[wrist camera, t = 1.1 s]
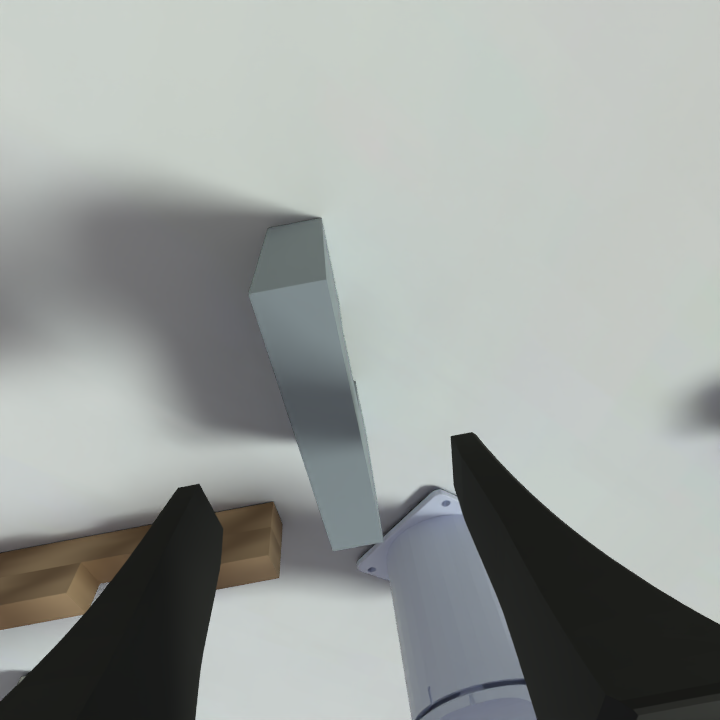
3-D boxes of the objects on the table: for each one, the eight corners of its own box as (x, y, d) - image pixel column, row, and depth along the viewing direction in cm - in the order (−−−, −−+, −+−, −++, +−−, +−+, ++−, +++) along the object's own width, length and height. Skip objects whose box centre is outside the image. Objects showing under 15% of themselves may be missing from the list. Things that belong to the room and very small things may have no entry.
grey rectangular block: (366, 436, 22) (383, 542, 17) (327, 443, 22) (332, 551, 17) (321, 217, 16) (326, 279, 11) (267, 228, 16) (248, 294, 11)
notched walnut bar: (273, 501, 24) (268, 555, 21) (282, 524, 25) (279, 577, 22) (-14, 555, 24) (-55, 615, 21) (8, 575, 25) (-28, 635, 22)
